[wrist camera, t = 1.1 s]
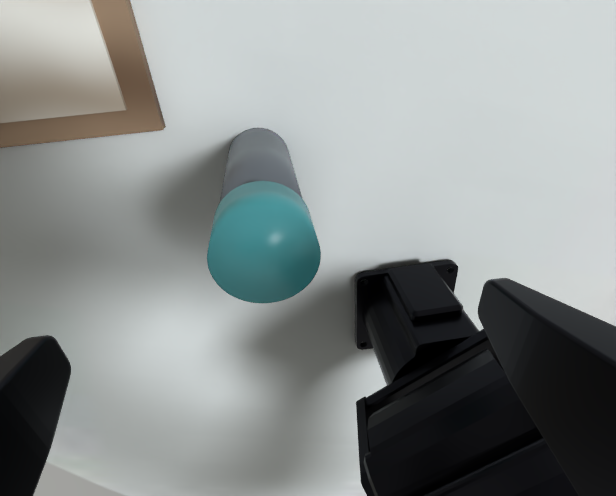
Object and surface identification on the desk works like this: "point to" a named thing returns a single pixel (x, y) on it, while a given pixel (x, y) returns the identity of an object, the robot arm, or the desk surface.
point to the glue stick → (262, 224)
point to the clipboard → (73, 72)
